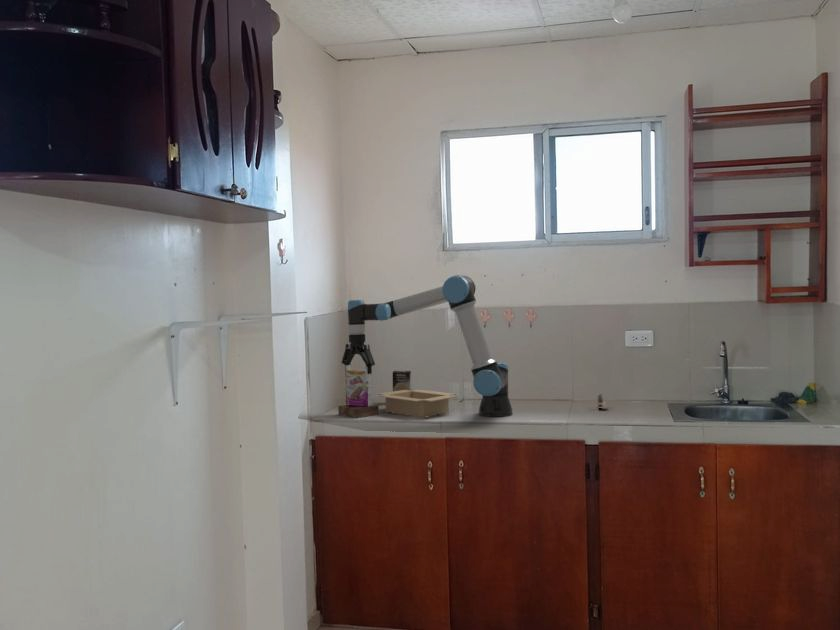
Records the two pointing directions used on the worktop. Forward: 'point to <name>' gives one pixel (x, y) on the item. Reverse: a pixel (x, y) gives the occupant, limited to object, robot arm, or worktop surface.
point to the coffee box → (401, 380)
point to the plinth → (358, 410)
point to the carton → (417, 402)
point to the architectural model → (600, 400)
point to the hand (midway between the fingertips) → (358, 380)
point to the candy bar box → (358, 389)
